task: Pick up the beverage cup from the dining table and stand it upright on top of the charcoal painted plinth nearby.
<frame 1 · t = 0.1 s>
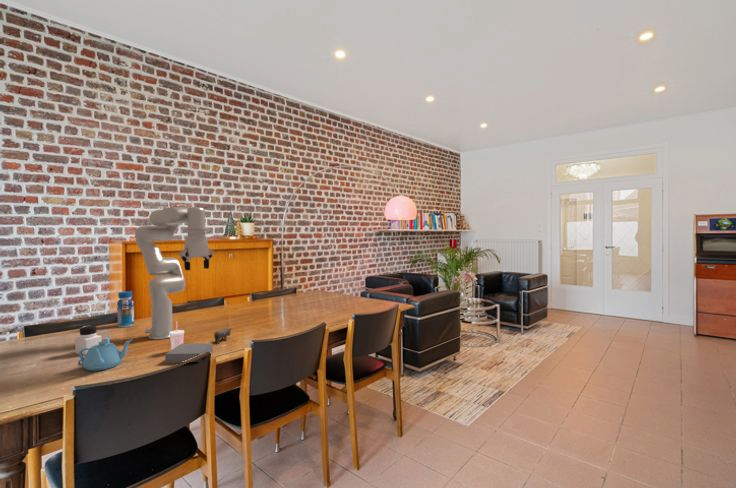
hand: (197, 269, 173), 37 cm above the table, tool pointing down, fingers open, 9 cm apart
rhino figurine: (223, 340, 185), on the table
teapot: (106, 366, 149), on the table
beverage cup: (177, 351, 168), on the table
medicine bottle: (88, 352, 167), on the table
plinth: (190, 357, 159), on the table
beverage bottle: (126, 325, 216), on the table
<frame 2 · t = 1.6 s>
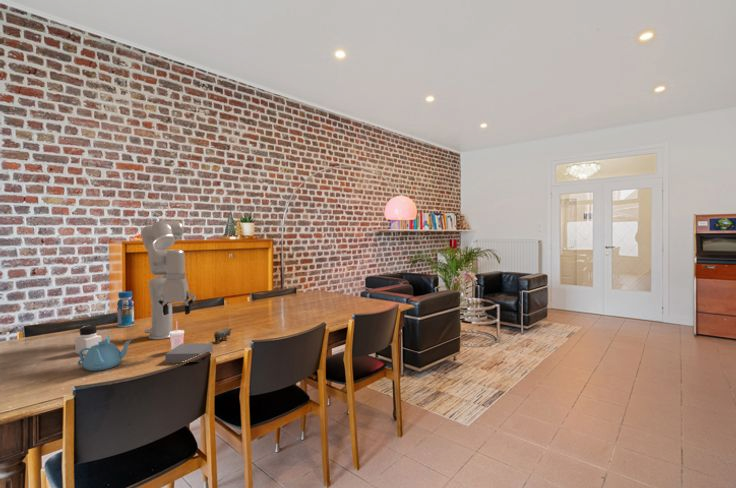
hand: (176, 314, 167), 17 cm above the table, tool pointing down, fingers open, 9 cm apart
nothing on the table moved.
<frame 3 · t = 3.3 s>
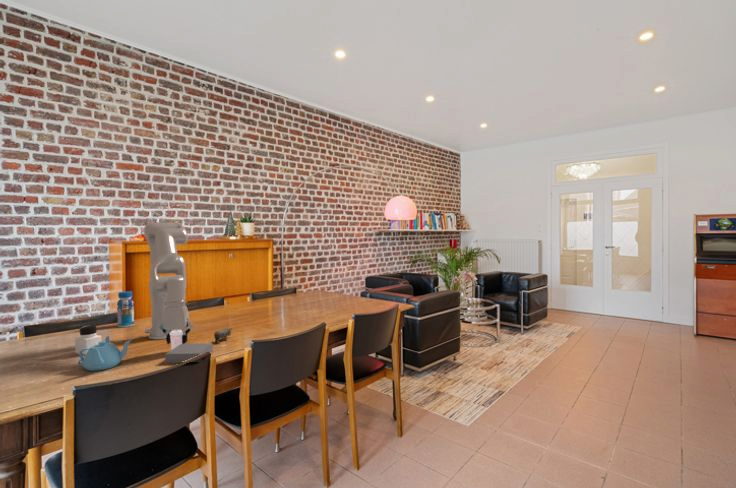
hand: (177, 342, 168), 4 cm above the table, tool pointing down, fingers closed on beverage cup, 6 cm apart
beverage cup: (177, 351, 168), on the table, touching gripper
everything else where it was.
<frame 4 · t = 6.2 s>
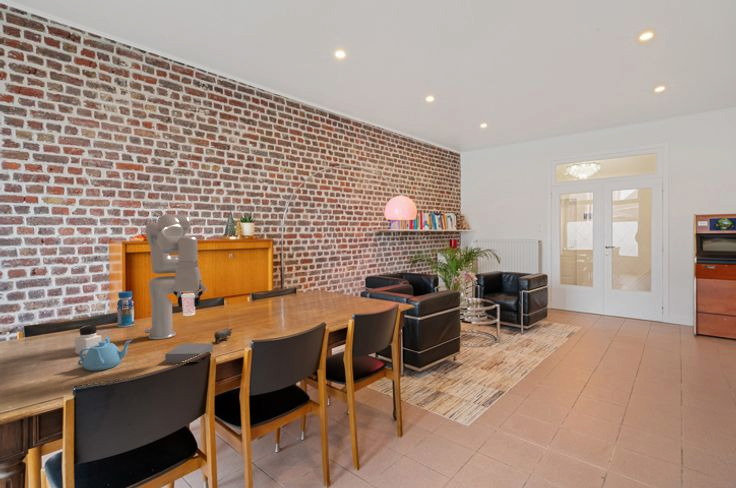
hand: (189, 305, 159), 23 cm above the table, tool pointing down, fingers closed on beverage cup, 6 cm apart
beverage cup: (189, 315, 159), point 19 cm above the table, touching gripper
everything else where it was.
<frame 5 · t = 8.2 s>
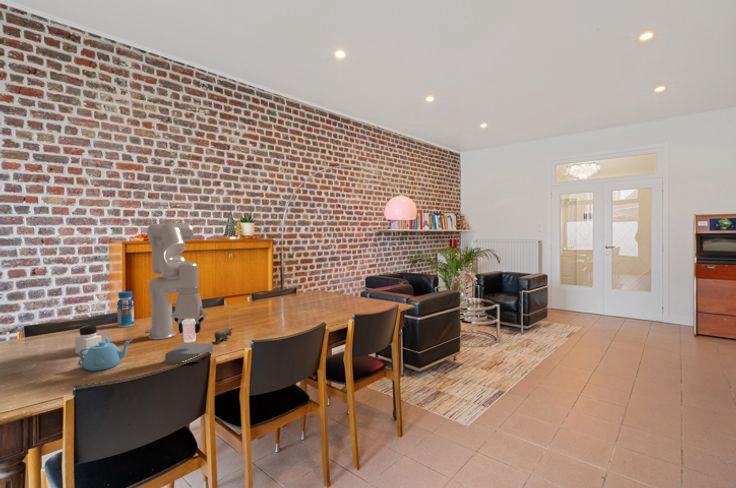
hand: (189, 332, 159), 11 cm above the table, tool pointing down, fingers closed on beverage cup, 6 cm apart
beverage cup: (189, 341, 159), point 7 cm above the table, touching gripper
everything else where it was.
when the fingers open (9 cm above the table, at t = 9.5 s): beverage cup drops 1 cm, resting on plinth.
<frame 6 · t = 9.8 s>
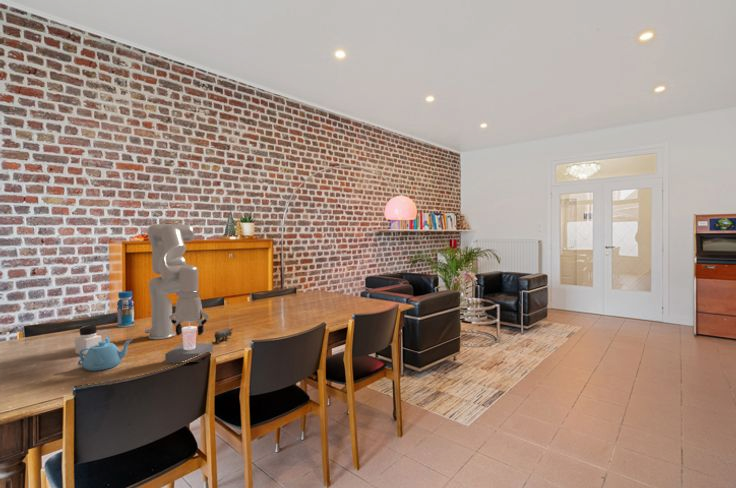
hand: (189, 334, 159), 10 cm above the table, tool pointing down, fingers open, 8 cm apart
beverage cup: (189, 348, 159), point 4 cm above the table, touching plinth
everything else where it was.
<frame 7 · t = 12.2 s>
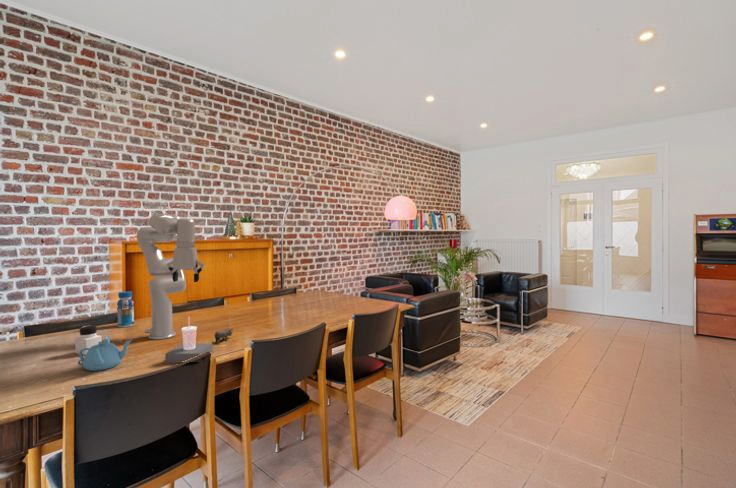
hand: (185, 281, 172), 32 cm above the table, tool pointing down, fingers open, 9 cm apart
nothing on the table moved.
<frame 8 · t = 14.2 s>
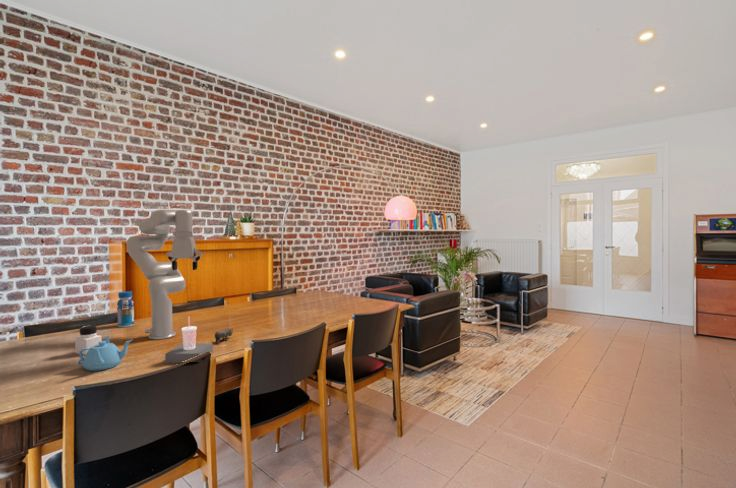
hand: (184, 269, 180), 36 cm above the table, tool pointing down, fingers open, 9 cm apart
nothing on the table moved.
at the end: beverage cup inside the target area on the plinth (0.4 cm from its centre), point 3.8 cm above the plinth's base; beverage cup tilted 0°; the gripper is holding nothing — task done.
